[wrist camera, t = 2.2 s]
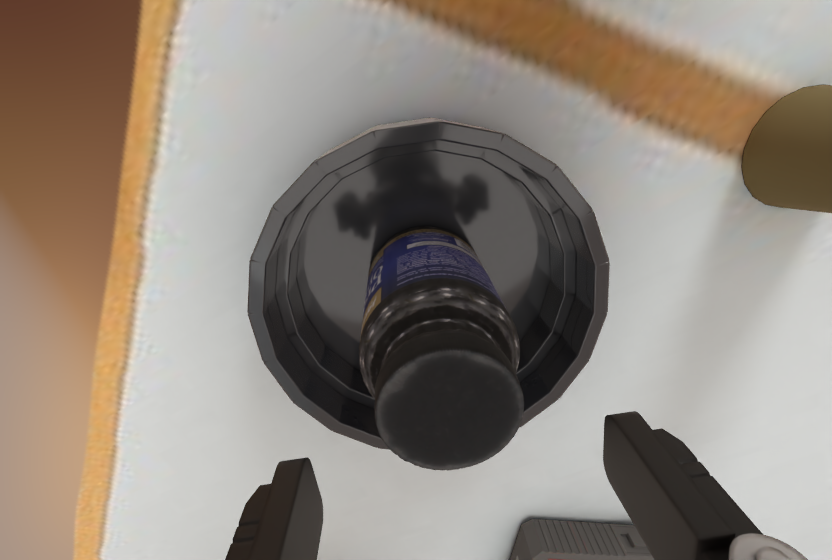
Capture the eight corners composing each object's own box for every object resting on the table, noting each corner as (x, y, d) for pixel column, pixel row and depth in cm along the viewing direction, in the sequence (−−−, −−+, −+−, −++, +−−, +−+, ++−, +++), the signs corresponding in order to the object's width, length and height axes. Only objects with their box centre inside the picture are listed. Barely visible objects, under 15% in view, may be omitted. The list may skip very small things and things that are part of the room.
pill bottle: (358, 233, 22) (329, 343, 12) (475, 214, 22) (545, 309, 12) (380, 336, 25) (370, 501, 14) (485, 319, 25) (551, 473, 14)
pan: (236, 145, 21) (196, 155, 17) (571, 96, 21) (617, 95, 16) (312, 413, 27) (297, 471, 23) (570, 377, 27) (603, 428, 23)
